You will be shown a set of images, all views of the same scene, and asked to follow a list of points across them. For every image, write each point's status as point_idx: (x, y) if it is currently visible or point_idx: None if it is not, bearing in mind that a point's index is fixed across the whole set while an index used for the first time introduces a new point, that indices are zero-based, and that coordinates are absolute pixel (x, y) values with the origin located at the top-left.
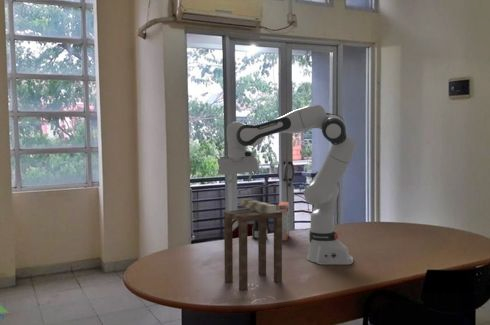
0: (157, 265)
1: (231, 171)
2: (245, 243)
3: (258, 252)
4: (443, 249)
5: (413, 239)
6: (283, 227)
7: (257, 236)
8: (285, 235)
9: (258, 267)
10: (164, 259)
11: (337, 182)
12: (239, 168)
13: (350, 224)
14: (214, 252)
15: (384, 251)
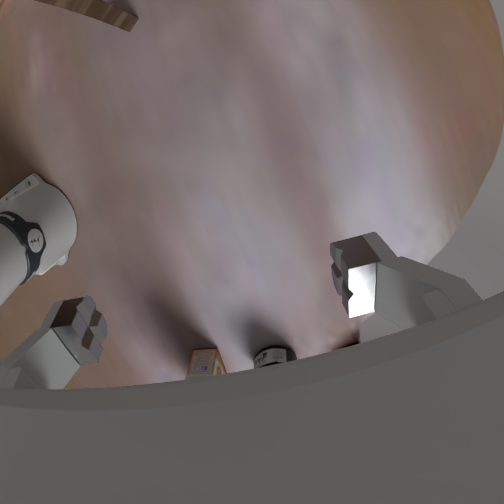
0: (452, 15)
1: (393, 377)
2: None
3: (110, 4)
4: None
5: None
6: (195, 376)
7: (275, 350)
8: (193, 359)
9: (130, 14)
10: (464, 71)
11: None
12: (120, 487)
13: None
14: (360, 176)
15: (2, 313)
